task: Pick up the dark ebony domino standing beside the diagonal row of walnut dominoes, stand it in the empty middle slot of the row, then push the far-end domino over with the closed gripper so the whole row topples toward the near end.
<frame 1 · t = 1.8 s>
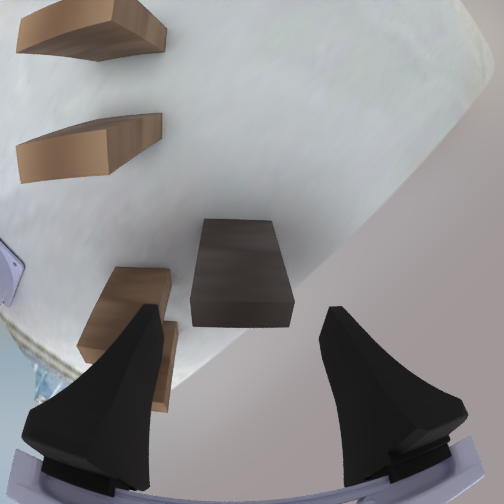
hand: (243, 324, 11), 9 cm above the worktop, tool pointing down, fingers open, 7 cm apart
domino 2: (143, 276, 20), on the worktop
ebony domino: (237, 230, 19), on the worktop
domino 5: (130, 44, 12), on the worktop
domino 1: (153, 326, 23), on the worktop
domino 4: (128, 128, 14), on the worktop
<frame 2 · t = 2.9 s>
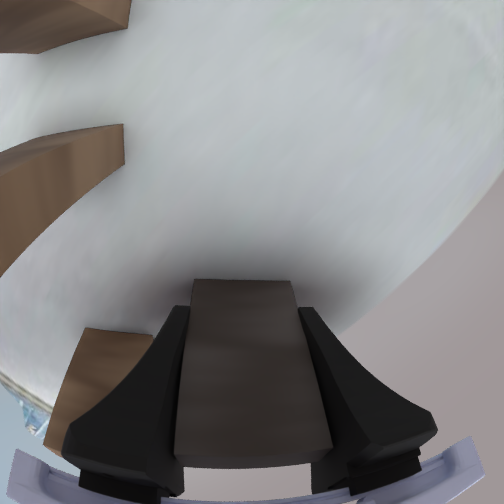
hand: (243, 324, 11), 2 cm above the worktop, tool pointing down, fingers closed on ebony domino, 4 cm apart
domino 2: (120, 340, 15), on the worktop
ebony domino: (241, 293, 13), on the worktop, touching gripper
domino 5: (79, 23, 6), on the worktop
domino 4: (76, 148, 9), on the worktop
when the fingers open (3 cm above the worktop, at t = 6.0 s): ebony domino stays where it is, on the worktop.
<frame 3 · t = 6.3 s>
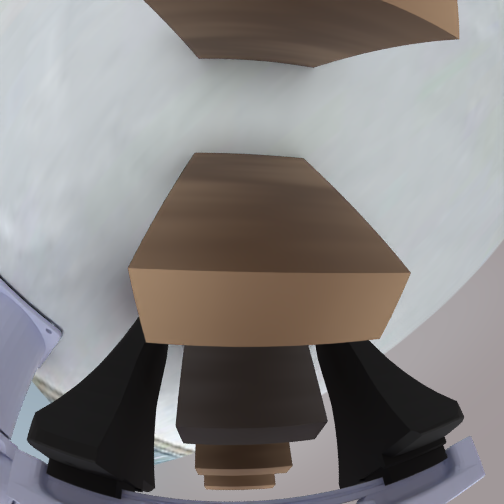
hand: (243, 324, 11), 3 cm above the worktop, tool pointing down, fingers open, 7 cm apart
domino 2: (237, 350, 17), on the worktop
ebony domino: (241, 281, 14), on the worktop
domino 5: (258, 42, 8), on the worktop
domino 1: (235, 392, 20), on the worktop
domino 4: (248, 173, 11), on the worktop
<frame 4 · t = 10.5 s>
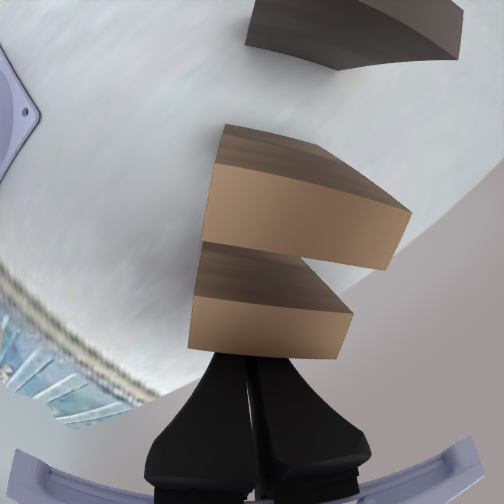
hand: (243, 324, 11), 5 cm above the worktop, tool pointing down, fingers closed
domino 2: (269, 149, 12), on the worktop
ebony domino: (297, 41, 10), on the worktop
domino 1: (244, 251, 15), on the worktop, tilted 16°
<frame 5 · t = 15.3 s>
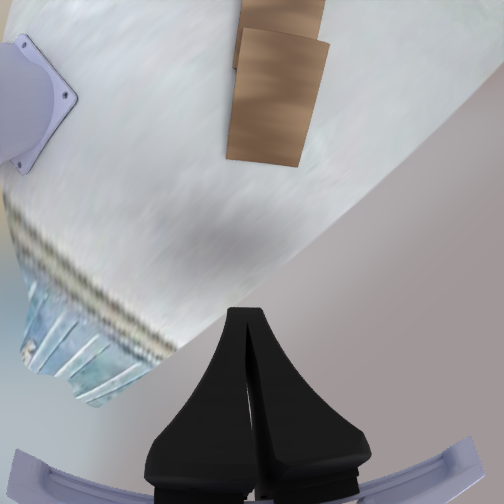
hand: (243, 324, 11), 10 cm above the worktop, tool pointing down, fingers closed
domino 2: (269, 70, 14), point 1 cm above the worktop, tilted 76°, touching domino 1, ebony domino
domino 1: (261, 156, 17), point 1 cm above the worktop, tilted 73°, touching domino 2
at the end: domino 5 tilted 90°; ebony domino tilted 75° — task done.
